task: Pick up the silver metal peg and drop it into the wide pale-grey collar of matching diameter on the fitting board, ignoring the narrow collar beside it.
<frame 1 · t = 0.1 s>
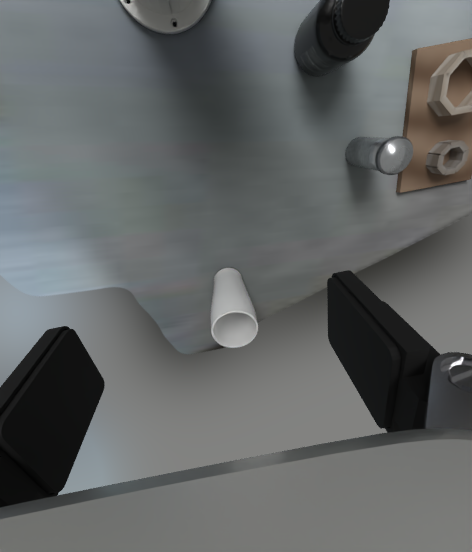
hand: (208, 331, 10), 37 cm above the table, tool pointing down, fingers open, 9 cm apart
supplement bottle: (318, 45, 36), on the table
fitting board: (441, 121, 42), on the table
drinking glass: (227, 278, 51), on the table
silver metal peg: (357, 151, 42), on the table
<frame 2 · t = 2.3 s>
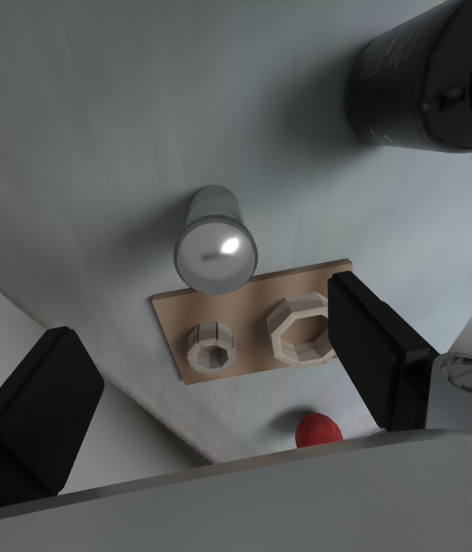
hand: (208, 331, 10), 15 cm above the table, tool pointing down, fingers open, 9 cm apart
supplement bottle: (386, 92, 20), on the table
fitting board: (258, 324, 29), on the table
onion: (309, 411, 37), on the table
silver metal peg: (214, 209, 23), on the table
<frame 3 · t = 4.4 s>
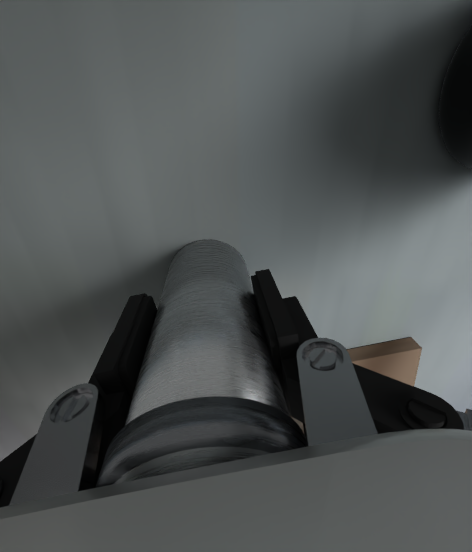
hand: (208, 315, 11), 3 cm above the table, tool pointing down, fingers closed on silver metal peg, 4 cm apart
fitting board: (273, 423, 20), on the table
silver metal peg: (208, 276, 14), on the table, touching gripper
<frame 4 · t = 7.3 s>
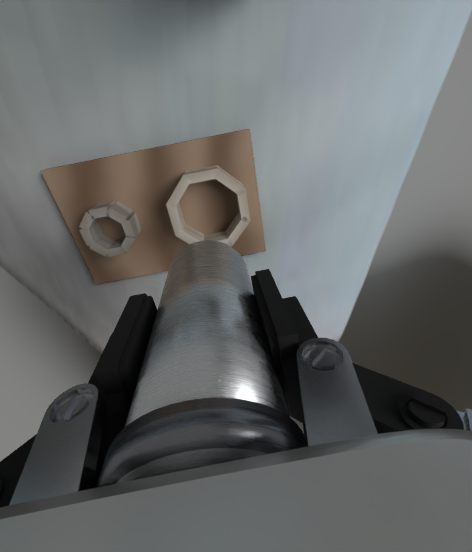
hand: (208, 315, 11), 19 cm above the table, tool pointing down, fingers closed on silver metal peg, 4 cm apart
fitting board: (166, 212, 28), on the table
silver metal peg: (208, 277, 14), point 16 cm above the table, touching gripper
when the fingers open (6 cm above the table, at t = 10.2 s): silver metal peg drops 1 cm, resting on fitting board.
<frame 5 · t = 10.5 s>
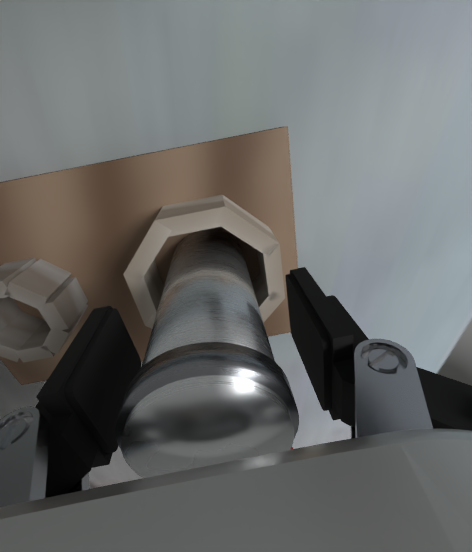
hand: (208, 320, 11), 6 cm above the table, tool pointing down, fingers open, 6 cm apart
fitting board: (133, 271, 16), on the table
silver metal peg: (208, 264, 15), point 1 cm above the table, touching fitting board
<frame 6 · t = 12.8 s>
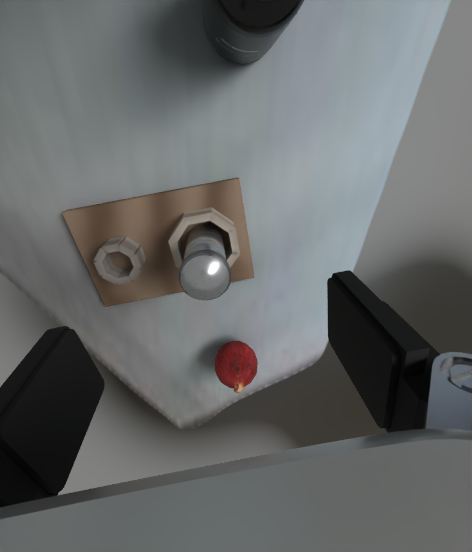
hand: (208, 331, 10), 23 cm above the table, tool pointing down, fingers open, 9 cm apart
supplement bottle: (241, 19, 24), on the table
fitting board: (167, 245, 32), on the table
onion: (233, 344, 40), on the table
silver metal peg: (205, 240, 31), point 1 cm above the table, touching fitting board
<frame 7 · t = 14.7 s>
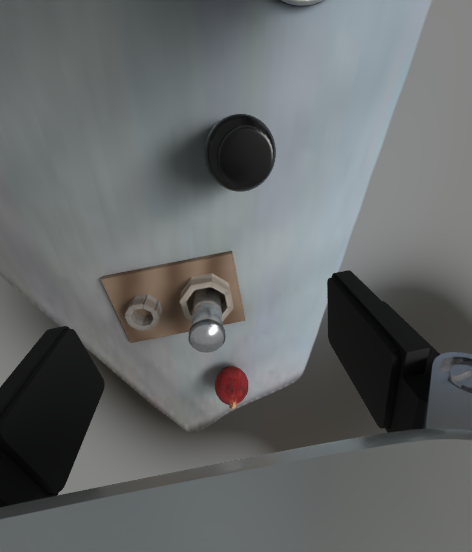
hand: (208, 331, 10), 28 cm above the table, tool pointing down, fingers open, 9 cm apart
supplement bottle: (233, 150, 33), on the table
fitting board: (178, 297, 42), on the table
onion: (229, 367, 50), on the table
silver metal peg: (207, 295, 41), point 1 cm above the table, touching fitting board
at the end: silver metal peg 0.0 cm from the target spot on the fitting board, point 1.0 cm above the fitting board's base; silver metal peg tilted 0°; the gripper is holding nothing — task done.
